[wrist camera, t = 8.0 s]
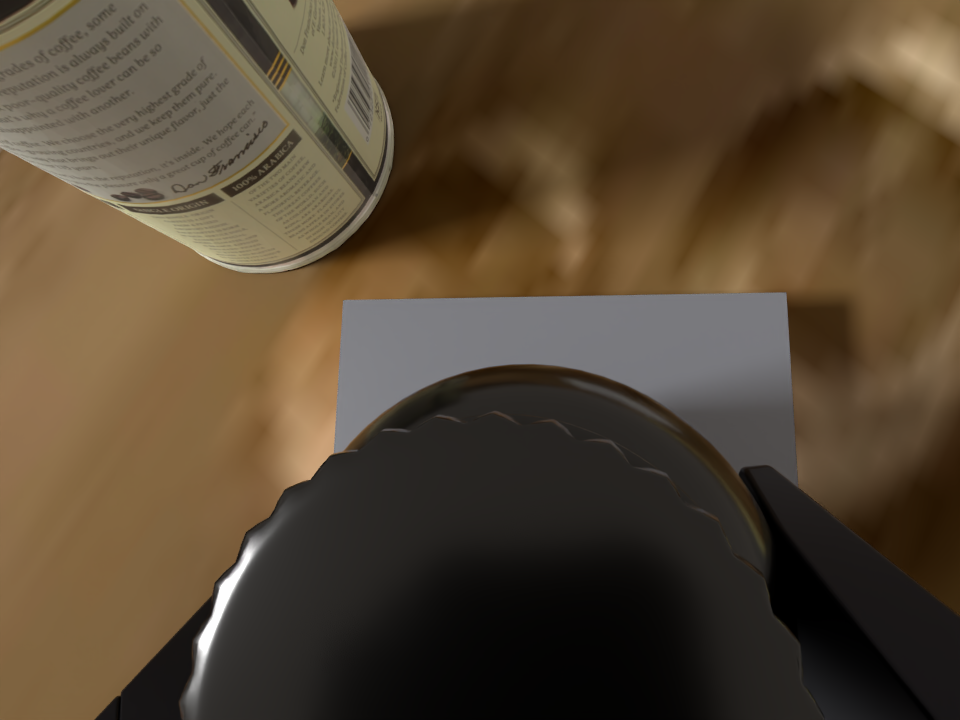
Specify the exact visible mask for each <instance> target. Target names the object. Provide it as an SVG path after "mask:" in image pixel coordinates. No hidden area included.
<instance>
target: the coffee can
mask: <svg viewBox="0 0 960 720" xmlns="http://www.w3.org/2000/svg"><path fill="white" fill-rule="evenodd" d="M0 147H1V148H3V149H4V150H6V151H8V152H10V153H12V154H14V155H16V156H18V157H19V158H21V159H23V160H25V161H27V162H29V163H31V164H33V165H35V166H36V167H38V168H40V169H42V170H44V171H46V172H48V173H50V174H52V175H54V176H55V177H57V178H59V179H61V180H63V181H65V182H67V183H69V184H71V185H73V186H75V187H76V188H78V189H80V190H81V191H83V192H85V193H87V194H89V195H91V196H93V197H95V198H97V199H99V200H101V201H103V202H104V203H106V204H108V205H110V206H112V207H114V208H116V209H118V210H120V211H122V212H123V213H125V214H127V215H129V216H131V217H133V218H135V219H137V220H139V221H140V222H142V223H144V224H146V225H148V226H150V227H152V228H154V229H156V230H158V231H159V232H161V233H163V234H165V235H167V236H169V237H171V238H173V239H175V240H176V241H178V242H180V243H182V244H184V245H186V246H188V247H190V248H192V249H193V250H195V251H196V252H197V253H199V254H200V255H202V256H203V257H205V258H206V259H208V260H210V261H212V262H214V263H216V264H218V265H220V266H223V267H225V268H229V269H232V270H235V271H239V272H244V273H277V272H283V271H287V270H292V269H295V268H298V267H301V266H304V265H307V264H309V263H311V262H314V261H316V260H318V259H320V258H322V257H323V256H325V255H326V254H328V253H330V252H331V251H333V250H335V249H337V248H338V247H340V246H341V245H342V244H343V243H344V242H345V241H346V240H347V239H348V238H349V237H350V236H351V235H352V234H353V233H355V232H356V231H357V230H358V229H359V227H360V226H361V225H362V224H363V223H364V222H365V220H366V219H367V218H368V217H369V215H370V214H371V212H372V211H373V209H374V208H375V206H376V204H377V203H378V201H379V200H380V197H381V195H382V193H383V191H384V189H385V186H386V184H387V181H388V177H389V174H390V171H391V169H392V161H393V152H394V129H393V121H392V117H391V112H390V109H389V106H388V103H387V100H386V97H385V95H384V93H383V91H382V89H381V87H380V86H379V84H378V82H377V80H376V79H375V78H374V77H373V75H372V74H371V72H370V70H369V68H368V67H367V65H366V63H365V61H364V59H363V57H362V55H361V53H360V52H359V50H358V48H357V46H356V44H355V42H354V40H353V38H352V36H351V34H350V33H349V31H348V29H347V27H346V25H345V23H344V21H343V19H342V17H341V16H340V14H339V12H338V10H337V8H336V6H335V4H334V2H333V1H332V0H0Z"/></svg>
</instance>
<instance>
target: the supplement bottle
mask: <svg viewBox="0 0 960 720" xmlns="http://www.w3.org/2000/svg"><path fill="white" fill-rule="evenodd" d="M179 708H180V717H181V720H825V717H824V715H823V713H822V711H821V709H820V707H819V706H818V704H817V702H816V701H815V699H814V697H813V696H812V694H811V692H810V691H809V690H808V689H807V687H806V686H805V685H804V684H803V661H802V652H801V644H800V642H799V640H798V628H797V617H796V611H795V606H794V600H793V595H792V589H791V586H790V582H789V578H788V575H787V571H786V568H785V564H784V561H783V558H782V556H781V553H780V550H779V548H778V545H777V543H776V540H775V537H774V535H773V533H772V531H771V529H770V527H769V525H768V523H767V521H766V519H765V517H764V515H763V513H762V511H761V509H760V507H759V505H758V504H757V502H756V500H755V499H754V497H753V496H752V494H751V492H750V491H749V489H748V487H747V486H746V484H745V483H744V482H743V480H742V479H741V478H740V476H739V475H738V474H737V472H736V471H735V470H734V468H733V467H732V466H731V464H730V463H729V462H728V461H727V460H726V459H725V458H724V456H723V455H722V454H721V453H720V452H719V451H718V450H717V449H716V448H715V447H714V445H713V444H712V443H711V442H710V441H708V440H707V439H706V438H705V437H704V436H703V435H702V434H701V433H700V432H699V431H698V430H696V429H695V428H694V427H693V426H692V425H691V424H689V423H688V422H687V421H685V420H684V419H683V418H682V417H680V416H679V415H678V414H676V413H675V412H674V411H672V410H671V409H669V408H668V407H666V406H664V405H663V404H661V403H660V402H658V401H656V400H655V399H653V398H651V397H650V396H648V395H646V394H644V393H642V392H640V391H638V390H636V389H634V388H632V387H630V386H628V385H625V384H623V383H620V382H618V381H615V380H612V379H610V378H607V377H604V376H601V375H597V374H594V373H590V372H587V371H583V370H579V369H573V368H567V367H562V366H555V365H542V364H509V365H500V366H492V367H485V368H481V369H476V370H471V371H467V372H463V373H460V374H457V375H454V376H451V377H448V378H445V379H442V380H440V381H438V382H435V383H433V384H431V385H428V386H426V387H424V388H422V389H420V390H418V391H416V392H414V393H413V394H411V395H409V396H407V397H405V398H404V399H402V400H400V401H399V402H397V403H396V404H395V405H393V406H392V407H390V408H389V409H387V410H386V411H384V412H383V413H382V414H381V415H379V416H378V417H377V418H376V419H375V420H373V421H372V422H371V423H370V424H369V425H367V426H366V427H365V428H364V429H363V430H362V431H361V432H360V433H359V434H358V435H357V436H356V437H355V438H354V439H353V440H352V441H351V442H350V444H349V445H348V446H347V447H346V448H345V450H344V451H343V452H338V453H334V454H332V455H330V456H329V457H328V459H327V460H326V461H325V462H324V463H323V464H322V465H321V466H320V468H319V469H318V470H317V472H316V473H315V474H314V476H313V477H312V478H311V480H307V481H303V482H300V483H298V484H296V485H293V486H291V487H289V488H287V489H285V490H284V492H283V494H282V495H281V497H280V498H279V500H278V502H277V504H276V507H275V509H274V511H273V512H272V514H271V516H270V517H269V518H267V519H265V520H264V521H262V522H260V523H258V524H257V525H255V526H254V527H253V528H251V529H250V530H248V531H247V532H246V534H245V536H244V539H243V541H242V544H241V547H240V550H239V553H238V556H237V559H236V562H235V563H234V564H233V565H232V566H231V567H230V568H229V569H228V570H226V571H225V572H224V573H223V574H222V575H221V577H220V578H219V579H218V580H217V581H216V582H215V584H214V589H213V594H212V604H211V609H210V614H209V616H208V617H207V618H206V620H205V621H204V622H203V624H202V625H201V626H200V628H199V629H198V631H197V633H196V634H195V636H194V637H193V639H192V673H191V675H190V677H189V679H188V681H187V683H186V685H185V687H184V689H183V692H182V694H181V697H180V699H179Z"/></svg>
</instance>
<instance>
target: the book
mask: <svg viewBox="0 0 960 720" xmlns="http://www.w3.org/2000/svg"><path fill="white" fill-rule="evenodd" d="M509 364H542V365H555V366H562V367H567V368H573V369H579V370H583V371H587V372H590V373H594V374H597V375H601V376H604V377H607V378H610V379H612V380H615V381H618V382H620V383H623V384H625V385H628V386H630V387H632V388H634V389H636V390H638V391H640V392H642V393H644V394H646V395H648V396H650V397H651V398H653V399H655V400H656V401H658V402H660V403H661V404H663V405H664V406H666V407H668V408H669V409H671V410H672V411H674V412H675V413H676V414H678V415H679V416H680V417H682V418H683V419H684V420H685V421H687V422H688V423H689V424H691V425H692V426H693V427H694V428H695V429H696V430H698V431H699V432H700V433H701V434H702V435H703V436H704V437H705V438H706V439H707V440H708V441H710V442H711V443H712V444H713V445H714V447H715V448H716V449H717V450H718V451H719V452H720V453H721V454H722V455H723V456H724V458H725V459H726V460H727V461H728V462H729V463H730V464H731V466H732V467H733V468H734V470H735V471H736V472H737V474H738V475H739V471H740V469H741V468H742V467H745V466H755V465H769V466H771V467H773V468H774V469H775V470H777V471H778V472H779V473H780V474H782V475H783V476H784V477H785V478H787V479H788V480H789V481H790V482H792V483H793V484H794V485H795V486H797V487H798V476H797V459H796V443H795V427H794V410H793V394H792V378H791V362H790V345H789V329H788V313H787V297H786V293H729V294H670V295H612V296H554V297H496V298H438V299H380V300H343V313H342V329H341V346H340V362H339V378H338V394H337V411H336V427H335V443H334V453H338V452H343V451H344V450H345V448H346V447H347V446H348V445H349V444H350V442H351V441H352V440H353V439H354V438H355V437H356V436H357V435H358V434H359V433H360V432H361V431H362V430H363V429H364V428H365V427H366V426H367V425H369V424H370V423H371V422H372V421H373V420H375V419H376V418H377V417H378V416H379V415H381V414H382V413H383V412H384V411H386V410H387V409H389V408H390V407H392V406H393V405H395V404H396V403H397V402H399V401H400V400H402V399H404V398H405V397H407V396H409V395H411V394H413V393H414V392H416V391H418V390H420V389H422V388H424V387H426V386H428V385H431V384H433V383H435V382H438V381H440V380H442V379H445V378H448V377H451V376H454V375H457V374H460V373H463V372H467V371H471V370H476V369H481V368H485V367H492V366H500V365H509Z"/></svg>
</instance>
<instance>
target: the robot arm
mask: <svg viewBox="0 0 960 720" xmlns="http://www.w3.org/2000/svg"><path fill="white" fill-rule="evenodd" d="M739 476H740V478H741V479H742V480H743V482H744V483H745V484H746V486H747V487H748V489H749V491H750V492H751V494H752V496H753V497H754V499H755V500H756V502H757V504H758V505H759V507H760V509H761V511H762V513H763V515H764V517H765V519H766V521H767V523H768V525H769V527H770V529H771V531H772V533H773V535H774V537H775V540H776V543H777V545H778V548H779V550H780V553H781V556H782V558H783V561H784V564H785V568H786V571H787V575H788V578H789V582H790V586H791V589H792V595H793V600H794V606H795V611H796V617H797V628H798V640H799V642H800V644H801V652H802V661H803V684H804V685H805V686H806V687H807V689H808V690H809V691H810V692H811V694H812V696H813V697H814V699H815V701H816V702H817V704H818V706H819V707H820V709H821V711H822V713H823V715H824V717H825V720H960V616H959V615H958V614H957V613H955V612H954V611H953V610H952V609H950V608H949V607H948V606H946V605H945V604H944V603H943V602H941V601H940V600H939V599H938V598H936V597H935V596H934V595H933V594H931V593H930V592H929V591H928V590H926V589H925V588H924V587H923V586H921V585H920V584H919V583H918V582H916V581H915V580H914V579H913V578H911V577H910V576H909V575H907V574H906V573H905V572H904V571H902V570H901V569H900V568H899V567H897V566H896V565H895V564H894V563H892V562H891V561H890V560H889V559H887V558H886V557H885V556H884V555H882V554H881V553H880V552H879V551H877V550H876V549H875V548H873V547H872V546H871V545H870V544H868V543H867V542H866V541H865V540H863V539H862V538H861V537H860V536H858V535H857V534H856V533H855V532H853V531H852V530H851V529H850V528H848V527H847V526H846V525H845V524H843V523H842V522H841V521H840V520H838V519H837V518H836V517H834V516H833V515H832V514H831V513H829V512H828V511H827V510H826V509H824V508H823V507H822V506H821V505H819V504H818V503H817V502H816V501H814V500H813V499H812V498H811V497H809V496H808V495H807V494H806V493H804V492H803V491H802V490H801V489H799V488H798V487H797V486H795V485H794V484H793V483H792V482H790V481H789V480H788V479H787V478H785V477H784V476H783V475H782V474H780V473H779V472H778V471H777V470H775V469H774V468H773V467H771V466H769V465H755V466H745V467H742V468H741V469H740V471H739ZM211 604H212V596H211V597H210V598H209V599H208V600H207V601H206V602H205V603H204V604H203V605H202V606H201V607H200V609H199V610H198V611H197V612H196V613H195V614H194V615H193V616H192V617H191V618H190V619H189V620H188V621H187V622H186V623H185V624H184V626H183V627H182V628H181V629H180V630H179V631H178V632H177V633H176V634H175V635H174V636H173V637H172V638H171V639H170V640H169V641H168V642H167V644H166V645H165V646H164V647H163V648H162V649H161V650H160V651H159V652H158V653H157V654H156V655H155V656H154V657H153V658H152V659H151V660H150V662H149V663H148V664H147V665H146V666H145V667H144V668H143V669H142V670H141V671H140V672H139V673H138V674H137V675H136V676H135V677H134V679H133V680H132V681H131V682H130V683H129V684H128V685H127V686H126V687H125V688H124V689H123V690H122V692H121V696H117V697H115V698H114V699H113V701H112V702H111V703H110V704H109V705H108V706H107V707H106V708H105V709H104V710H103V711H102V712H101V713H100V714H99V715H98V716H97V718H96V719H95V720H181V717H180V708H179V699H180V697H181V694H182V692H183V689H184V687H185V685H186V683H187V681H188V679H189V677H190V675H191V673H192V639H193V637H194V636H195V634H196V633H197V631H198V629H199V628H200V626H201V625H202V624H203V622H204V621H205V620H206V618H207V617H208V616H209V614H210V609H211Z"/></svg>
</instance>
